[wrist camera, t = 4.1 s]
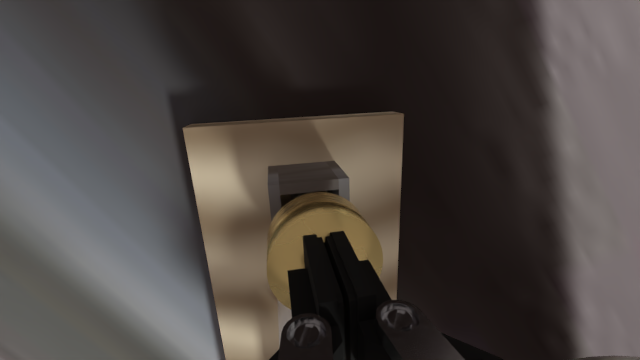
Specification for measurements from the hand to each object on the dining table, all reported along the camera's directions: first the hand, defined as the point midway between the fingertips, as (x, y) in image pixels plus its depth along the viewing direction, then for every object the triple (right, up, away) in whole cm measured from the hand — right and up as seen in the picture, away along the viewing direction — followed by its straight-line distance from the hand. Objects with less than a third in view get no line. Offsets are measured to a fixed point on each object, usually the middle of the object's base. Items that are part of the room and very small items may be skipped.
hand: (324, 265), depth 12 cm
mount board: (-1, -5, +13) cm, 13 cm away
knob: (-1, +2, +8) cm, 8 cm away
